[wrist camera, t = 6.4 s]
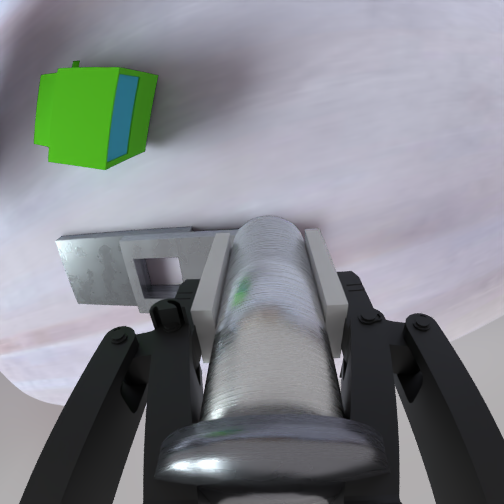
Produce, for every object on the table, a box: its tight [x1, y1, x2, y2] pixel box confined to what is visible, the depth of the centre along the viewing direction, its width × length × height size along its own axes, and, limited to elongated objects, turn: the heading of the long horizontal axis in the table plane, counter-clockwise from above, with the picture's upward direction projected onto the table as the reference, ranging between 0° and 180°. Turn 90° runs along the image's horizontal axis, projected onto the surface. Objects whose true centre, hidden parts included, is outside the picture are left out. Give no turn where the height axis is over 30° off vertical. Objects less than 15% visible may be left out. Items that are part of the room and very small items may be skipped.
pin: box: [154, 216, 390, 504], centre depth 11 cm, size 6×6×13 cm
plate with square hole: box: [56, 227, 239, 313], centre depth 35 cm, size 10×30×3 cm, turn 94°
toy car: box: [34, 61, 158, 170], centre depth 23 cm, size 10×13×10 cm
